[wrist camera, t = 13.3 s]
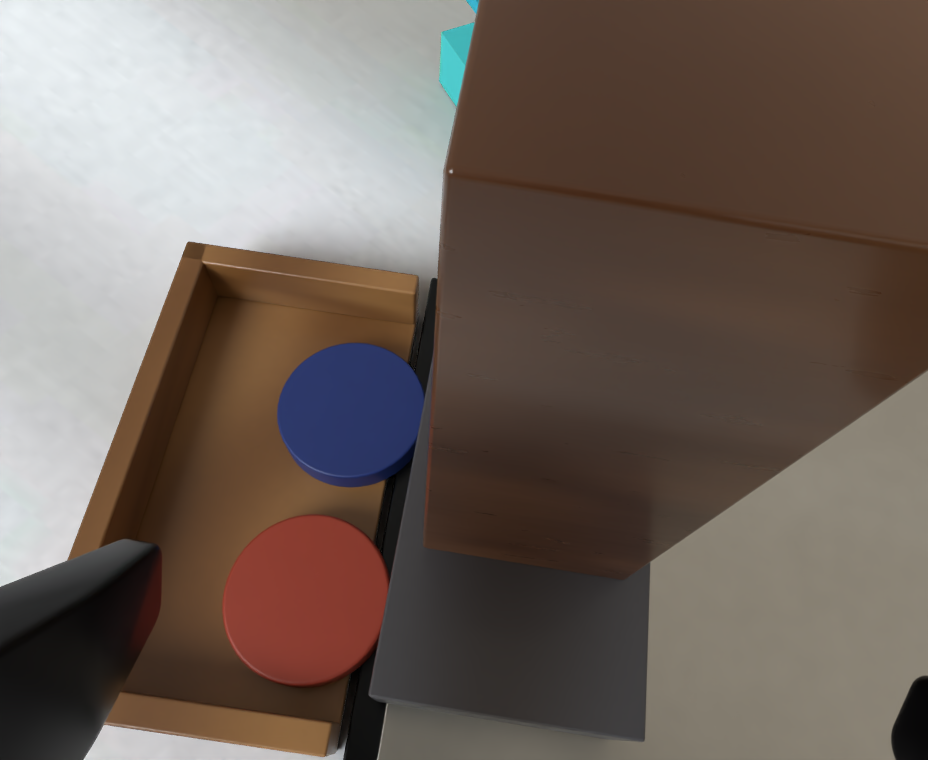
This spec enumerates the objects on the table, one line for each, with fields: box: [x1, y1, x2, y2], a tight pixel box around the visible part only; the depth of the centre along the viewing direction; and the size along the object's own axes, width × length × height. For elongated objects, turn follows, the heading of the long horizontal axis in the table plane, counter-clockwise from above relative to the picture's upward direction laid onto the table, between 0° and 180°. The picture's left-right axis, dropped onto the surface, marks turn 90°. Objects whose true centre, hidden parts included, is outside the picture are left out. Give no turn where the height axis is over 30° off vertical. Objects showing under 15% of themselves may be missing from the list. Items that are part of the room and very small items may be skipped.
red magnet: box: [222, 514, 390, 688], centre depth 16 cm, size 4×4×1 cm
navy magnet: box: [277, 343, 425, 487], centre depth 18 cm, size 4×4×1 cm
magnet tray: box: [67, 242, 419, 757], centre depth 17 cm, size 6×11×2 cm, turn 172°
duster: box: [369, 0, 928, 742], centre depth 11 cm, size 5×9×13 cm, turn 171°
